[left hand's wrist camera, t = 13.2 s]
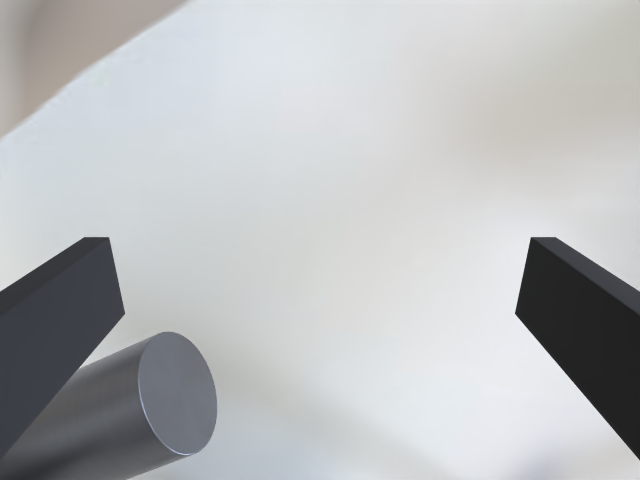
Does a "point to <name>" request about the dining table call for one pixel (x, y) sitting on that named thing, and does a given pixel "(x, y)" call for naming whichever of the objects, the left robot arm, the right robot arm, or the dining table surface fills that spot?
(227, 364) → the dining table surface
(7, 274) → the dining table surface
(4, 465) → the rod
